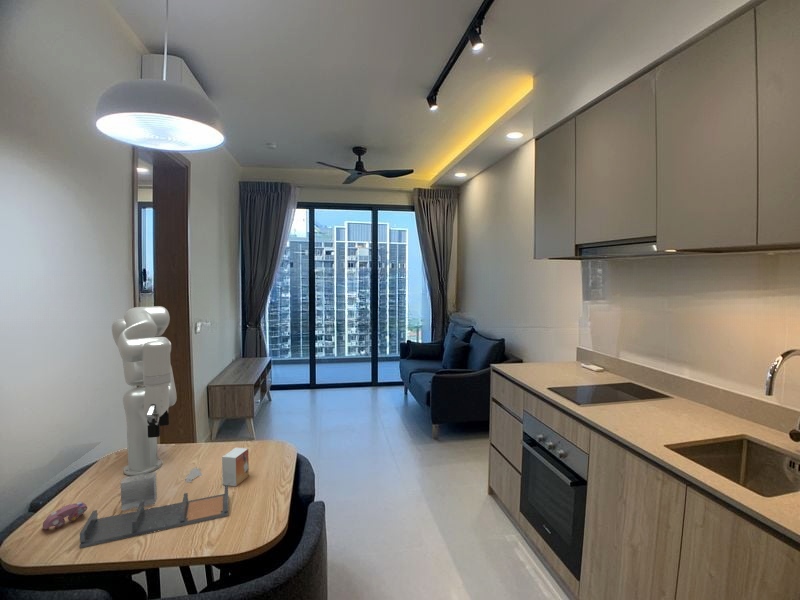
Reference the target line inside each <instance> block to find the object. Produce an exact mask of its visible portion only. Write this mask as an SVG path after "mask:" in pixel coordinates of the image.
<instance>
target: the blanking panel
mask: <svg viewBox="0 0 800 600" xmlns="http://www.w3.org/2000/svg"><path fill="white" fill-rule="evenodd" d="M157 487H158V486H157V472H156V471H155V472H154V471H153V472H149V473H146V474H142V475H134V476H131V475H129V476H125V477H123V478H122V480H121V482H120V504H121V506H120V507H121V512H122V511H124V512H125V511H128V510H134V509H138V507H139V504H140V502H142V501H144V508H145V507H149V505H150V506H154V504H155V505H156V502H157V499H158V494H157V493H158V491H157V489H158V488H157Z"/></svg>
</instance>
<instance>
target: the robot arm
mask: <svg viewBox="0 0 800 600" xmlns="http://www.w3.org/2000/svg"><path fill="white" fill-rule="evenodd" d="M170 318H171V317H170V313H169V311H168V309H167V308H165V307H164V306H161V305H160V306H159V305H157V306H154V305H153V306H136V307H132V308H130V309H128V310H127V311H126V312H125V313H124V316H123V318H118V319H116V320H115V321H113V322H112V325H111V334H112V338H113V340H114V343H115V344H116V346H117V348H118V352H119V355H120V357H121V359H122V367H123V375H124V380H125V382H126V384H127V385H129V386H132V387H134V388H131V389H128V390H127V391H126V392H125V393H124V394H123V396H122V403H123V405H122V406H123V408H124V414H125V422H126V439H127V440H126V442H127V445H126V446H127V464H126V465H125V466H124V467H123V474H125V475H126V476H136V475H142V474H148V473H153V472H154V471H156V470H158V469H159V468H161V466H162V465H163V460H162V459H161V458H160V457H158V438H159V437H160V436H161V433H160V432H161V427H163V426H169V424H170V415H169V414H170V413H169V408H170V407H172V406H174V405H175V404H176V402H177V399H178V398H177V390H176V384H175V379H174V373H173V366H172V365H171V352H172V343H171V341H170V340H169V339H168V337H165V336H162V335H163V334H164V333H165V331H166V329H167V328H168V326H169V325H170V322H171V321H170V320H171V319H170ZM136 386H139V387H136Z"/></svg>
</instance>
